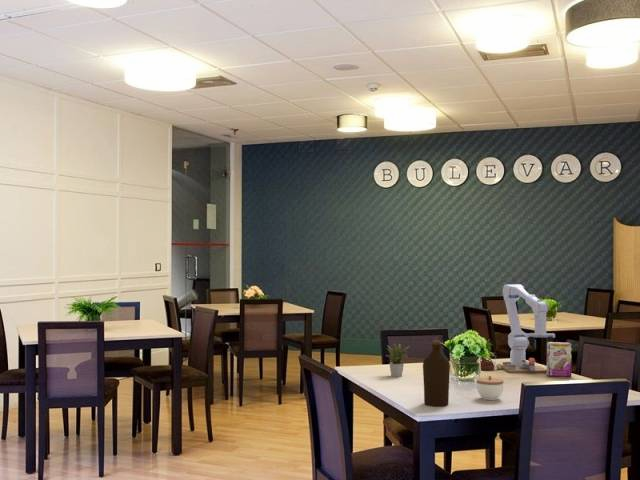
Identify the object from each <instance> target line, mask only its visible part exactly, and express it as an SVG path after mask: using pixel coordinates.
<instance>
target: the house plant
mask: <svg viewBox="0 0 640 480" xmlns="http://www.w3.org/2000/svg"><path fill="white" fill-rule="evenodd" d="M386 346H387V347H388V348H385V349H387V351H388V352H389V354H390V355H388V354H386V355H384V356H385V357H388V358H389V359H390V360H391V361H390V362H389V370H390V376H391V377H395V378H399V377H403V372H404V365H405V363H404V362H402V360H403V359H404V358H407V353H406V354H404V352H408V349H409V348H411V346H406V347H405V348H403V349H402V350H401V348H402V347H401V346H402V345H401V343H399V344H398V347H397V345H396V343H395V342H394V347H390V345H386Z"/></svg>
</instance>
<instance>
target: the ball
mask: <svg viewBox="0 0 640 480" xmlns="http://www.w3.org/2000/svg"><path fill="white" fill-rule="evenodd" d="M502 366H503V364H502V363H497V364H496V369H498V370H503V369H502Z"/></svg>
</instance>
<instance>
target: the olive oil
mask: <svg viewBox="0 0 640 480" xmlns="http://www.w3.org/2000/svg"><path fill="white" fill-rule="evenodd" d="M441 347H442V344H441V340H437V339H433V340H432V344H431V348H432V349H431V351H430V352H429V353H428V354H427V355H426V356H425V358H424V359H423V362H422V375H423V376H422V377H423V402H424V405H426V406H429V407H447V406H448V405H449V399H450V398H449V395H450V392H449V391H450V390H449V389H450V377H451V363H450V359H449V358H448V357H447V356H446V355H445V353H444V352H443V351H442V349H441Z"/></svg>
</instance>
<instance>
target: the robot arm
mask: <svg viewBox="0 0 640 480" xmlns="http://www.w3.org/2000/svg"><path fill="white" fill-rule="evenodd" d="M501 293H502V296H503V301H504V303H505V306H506V307H505V308H506V313H507V317H508V321H509V326H510V331H511V332H510V333H508V335H507V338H508V339H507V345H508V347H509V348H510V349H511V350H510V353H509V355H510V357H509V359H510V361H509V362H511V364H515V366H520V362H521V361H522V360H526V350H527V348H528V347H529V345H530V348H531V352H532V353H535V342H536V341H535V340H536V338H545V342H546V343H545V344H546V345H545V346H546V349H545V350H546V352H547V342H554V339H555V338H556V334H555V333H553V332H552V333H551V332H550V333H548V332H547V313H548V311H549V307H550V306H549V304H548V302H547V301H542V300H541V299H540V298H538V297H537V296H536V294H530V293H529V292H528V291H526V290H525V287H524V285H523V284H520V283H517V284H504V285H503V288H502V292H501ZM520 298H523V300H525V304H527V305H528V306H529V307H531V310H532V312H533V316H534V332H529V333H527V332H524V331H523V330H522V327H521V326H522V325H521V323H520V317H519V314H518V309H517V304H516V302H517V301H519V299H520Z"/></svg>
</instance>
